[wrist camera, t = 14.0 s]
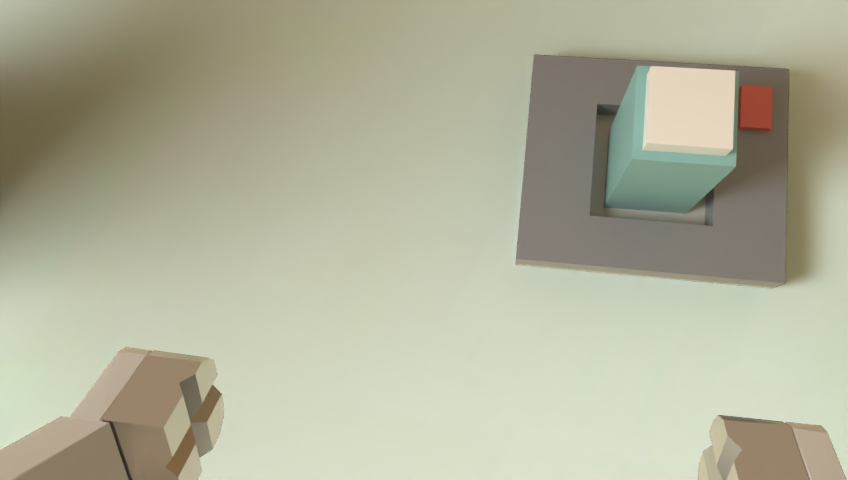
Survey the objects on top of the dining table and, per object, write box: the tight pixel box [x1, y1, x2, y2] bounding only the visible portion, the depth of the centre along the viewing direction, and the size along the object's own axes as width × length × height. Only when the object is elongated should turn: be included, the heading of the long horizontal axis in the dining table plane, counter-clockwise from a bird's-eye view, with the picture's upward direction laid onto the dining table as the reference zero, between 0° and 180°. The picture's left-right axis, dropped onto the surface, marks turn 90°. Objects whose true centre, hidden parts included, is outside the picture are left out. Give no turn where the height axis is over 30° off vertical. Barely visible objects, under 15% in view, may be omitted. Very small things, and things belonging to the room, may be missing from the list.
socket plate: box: [516, 55, 789, 288], centre depth 41 cm, size 14×12×2 cm
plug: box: [604, 66, 739, 214], centre depth 37 cm, size 4×4×10 cm
